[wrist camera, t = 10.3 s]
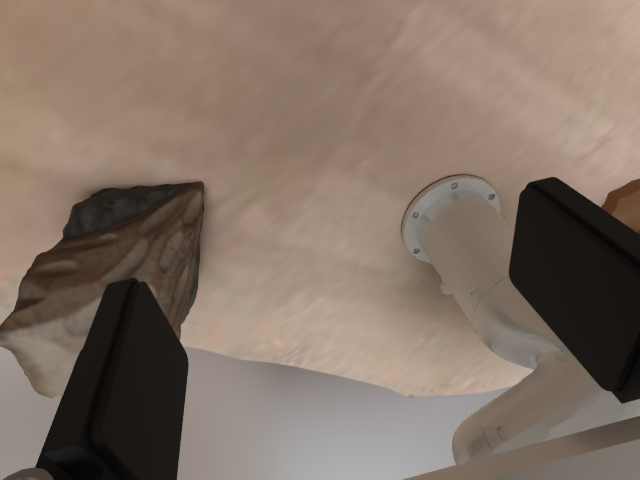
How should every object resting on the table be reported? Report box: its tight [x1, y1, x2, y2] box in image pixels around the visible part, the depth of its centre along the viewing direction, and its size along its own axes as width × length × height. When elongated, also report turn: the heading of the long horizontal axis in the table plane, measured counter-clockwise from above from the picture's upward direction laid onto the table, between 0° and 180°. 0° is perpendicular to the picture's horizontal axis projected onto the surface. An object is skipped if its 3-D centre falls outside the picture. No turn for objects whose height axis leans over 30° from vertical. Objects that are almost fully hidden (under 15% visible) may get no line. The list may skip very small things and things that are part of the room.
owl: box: [0, 182, 204, 398], centre depth 36 cm, size 13×13×20 cm
